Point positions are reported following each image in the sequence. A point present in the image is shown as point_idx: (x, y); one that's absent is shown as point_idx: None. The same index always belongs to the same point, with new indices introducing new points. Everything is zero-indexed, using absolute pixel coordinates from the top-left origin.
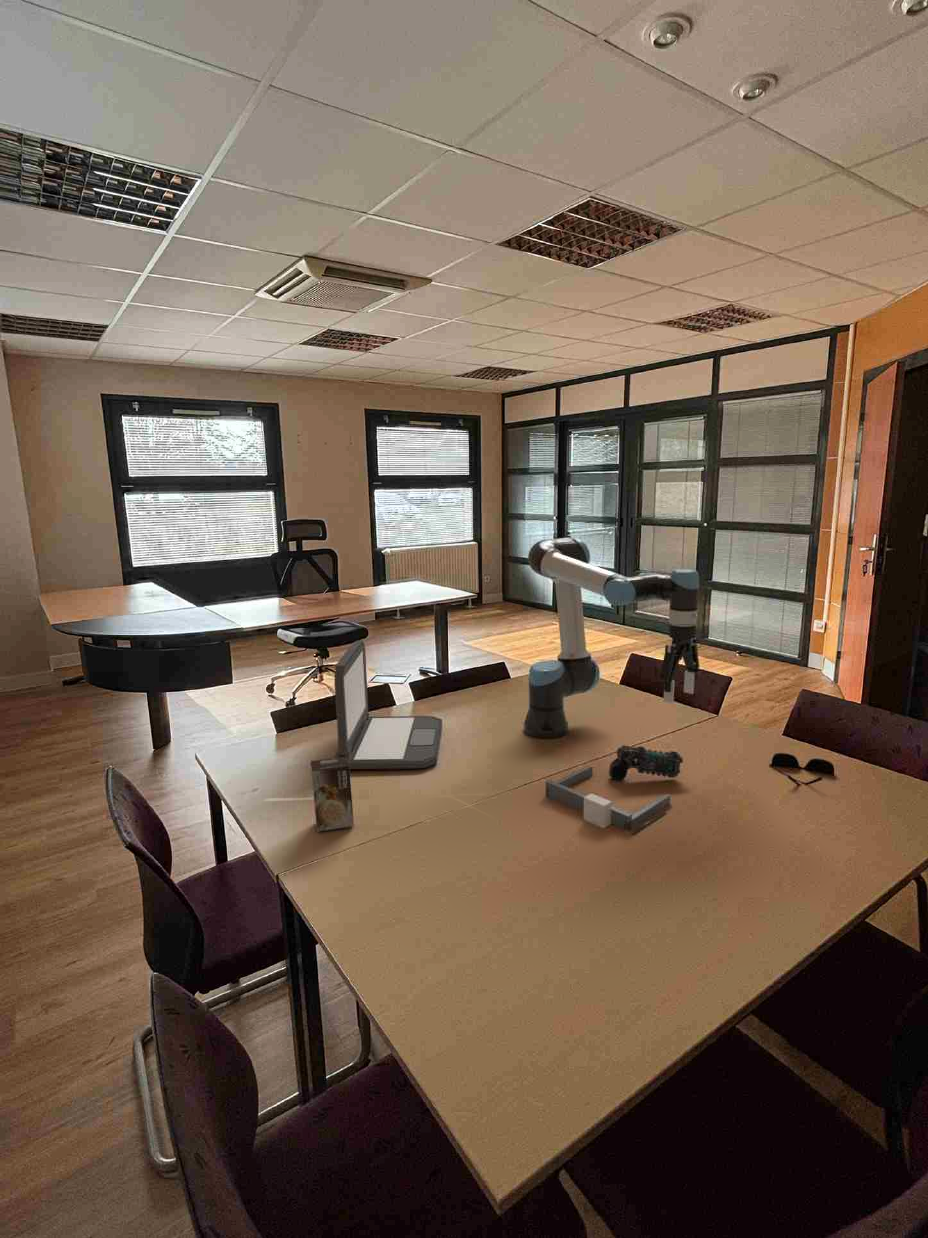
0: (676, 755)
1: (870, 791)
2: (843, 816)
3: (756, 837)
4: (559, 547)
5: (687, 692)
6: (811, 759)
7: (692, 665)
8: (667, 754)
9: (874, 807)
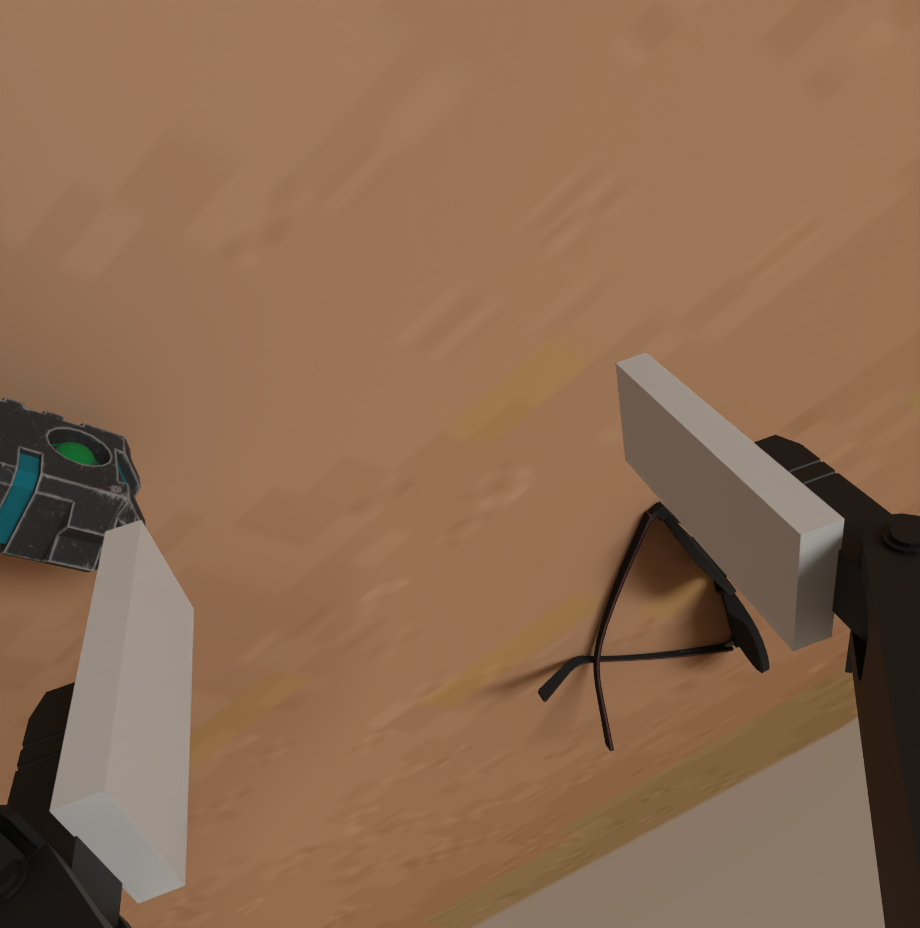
0: (76, 568)
1: (712, 723)
2: (490, 807)
3: None
4: None
5: (624, 411)
6: (753, 626)
7: (867, 775)
8: (25, 530)
9: (616, 786)
